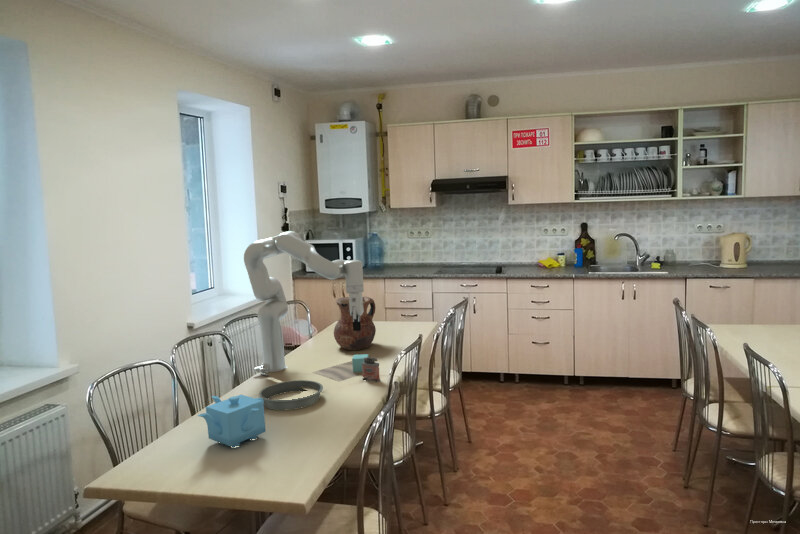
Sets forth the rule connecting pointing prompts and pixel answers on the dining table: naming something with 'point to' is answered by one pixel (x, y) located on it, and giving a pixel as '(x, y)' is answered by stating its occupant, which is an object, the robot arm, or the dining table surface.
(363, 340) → the jug
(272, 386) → the cake pan
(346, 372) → the post board
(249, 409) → the teakettle
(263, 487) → the dining table surface
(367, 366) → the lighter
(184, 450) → the dining table surface
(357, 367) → the turquoise cube
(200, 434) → the dining table surface
